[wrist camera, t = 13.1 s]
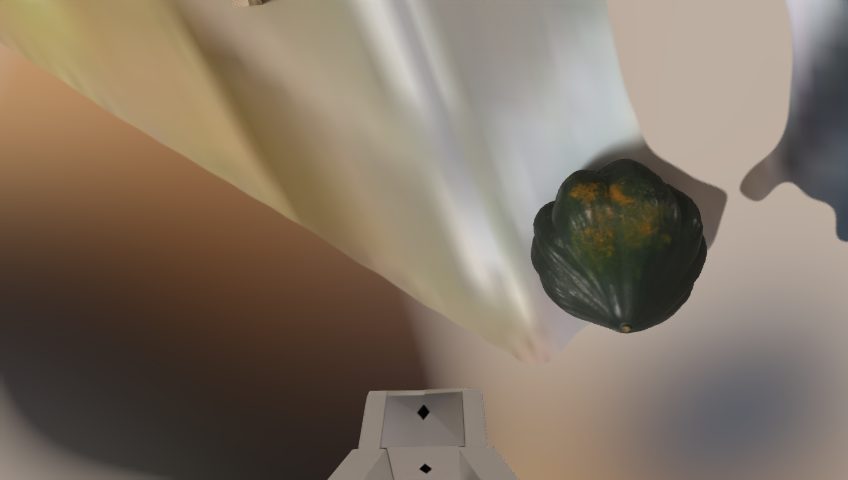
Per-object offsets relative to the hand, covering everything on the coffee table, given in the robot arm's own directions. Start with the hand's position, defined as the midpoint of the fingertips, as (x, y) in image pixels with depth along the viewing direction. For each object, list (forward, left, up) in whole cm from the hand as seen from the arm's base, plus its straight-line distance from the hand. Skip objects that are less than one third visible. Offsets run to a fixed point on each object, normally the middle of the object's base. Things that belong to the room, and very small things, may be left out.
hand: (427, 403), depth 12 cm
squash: (-16, +12, -32) cm, 38 cm away
